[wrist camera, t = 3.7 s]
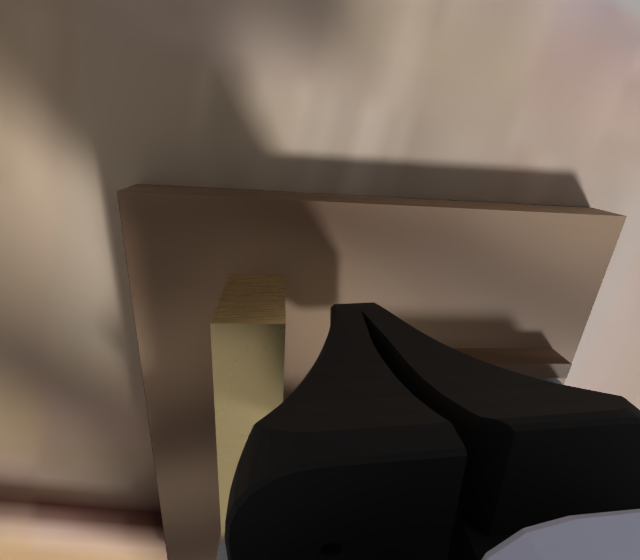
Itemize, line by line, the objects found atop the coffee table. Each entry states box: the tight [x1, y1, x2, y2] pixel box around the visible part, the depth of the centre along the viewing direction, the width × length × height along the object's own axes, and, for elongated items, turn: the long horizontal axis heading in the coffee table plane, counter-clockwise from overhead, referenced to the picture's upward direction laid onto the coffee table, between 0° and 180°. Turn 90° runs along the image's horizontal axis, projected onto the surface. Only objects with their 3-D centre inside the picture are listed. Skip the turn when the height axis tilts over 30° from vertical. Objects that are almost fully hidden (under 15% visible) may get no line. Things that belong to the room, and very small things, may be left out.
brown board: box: [117, 184, 626, 560], centre depth 15 cm, size 18×16×2 cm
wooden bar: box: [210, 273, 286, 560], centre depth 12 cm, size 10×8×4 cm
